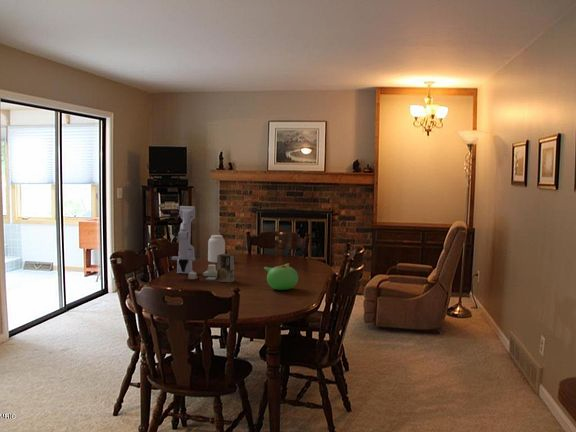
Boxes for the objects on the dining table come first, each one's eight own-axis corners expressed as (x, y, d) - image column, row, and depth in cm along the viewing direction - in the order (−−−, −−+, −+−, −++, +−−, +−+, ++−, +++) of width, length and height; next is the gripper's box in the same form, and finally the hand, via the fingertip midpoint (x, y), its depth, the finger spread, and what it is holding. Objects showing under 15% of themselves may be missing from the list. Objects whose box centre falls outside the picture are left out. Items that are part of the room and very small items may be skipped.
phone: (204, 281, 311) (204, 279, 311) (208, 278, 319) (208, 276, 318) (214, 281, 310) (214, 279, 310) (217, 279, 318) (217, 277, 318)
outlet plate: (203, 275, 325) (203, 272, 324) (207, 273, 334) (207, 270, 333) (221, 276, 323) (221, 273, 323) (224, 274, 332) (225, 271, 332)
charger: (207, 274, 326) (207, 265, 326) (209, 273, 330) (209, 264, 330) (213, 274, 326) (214, 265, 325) (215, 273, 330) (215, 264, 329)
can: (210, 259, 389) (211, 234, 388) (226, 260, 388) (226, 234, 386) (205, 262, 377) (206, 235, 376) (222, 263, 375) (222, 236, 374)
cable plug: (188, 279, 314) (188, 273, 314) (190, 277, 318) (190, 272, 318) (196, 279, 313) (196, 273, 313) (198, 278, 317) (198, 272, 317)
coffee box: (234, 280, 312) (235, 254, 310) (230, 282, 305) (230, 256, 304) (221, 279, 315) (221, 253, 313) (216, 281, 308) (216, 255, 307)
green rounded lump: (272, 293, 278) (273, 267, 277) (261, 287, 294) (262, 262, 293) (302, 291, 285) (302, 265, 284) (290, 285, 301) (290, 261, 300)
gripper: (170, 250, 312) (169, 272, 313) (192, 251, 310) (192, 273, 311) (174, 249, 319) (173, 270, 320) (196, 249, 317) (196, 271, 318)
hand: (183, 271), depth 316 cm, fingers closed
